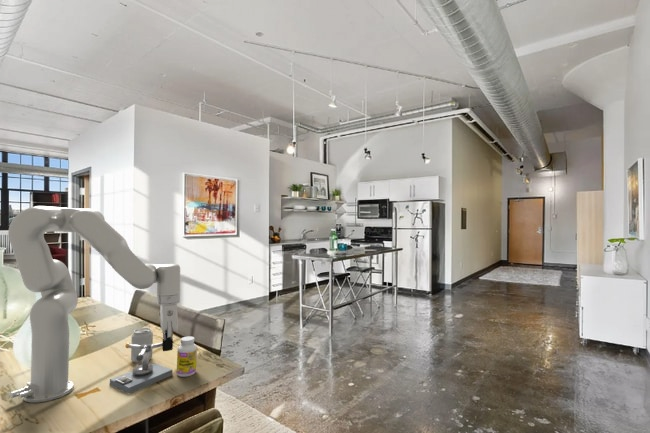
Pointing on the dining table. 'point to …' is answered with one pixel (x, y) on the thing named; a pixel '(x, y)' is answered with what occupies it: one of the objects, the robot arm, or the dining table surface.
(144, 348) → the capstan
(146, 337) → the can
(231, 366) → the dining table surface
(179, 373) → the supplement bottle
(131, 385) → the stand
